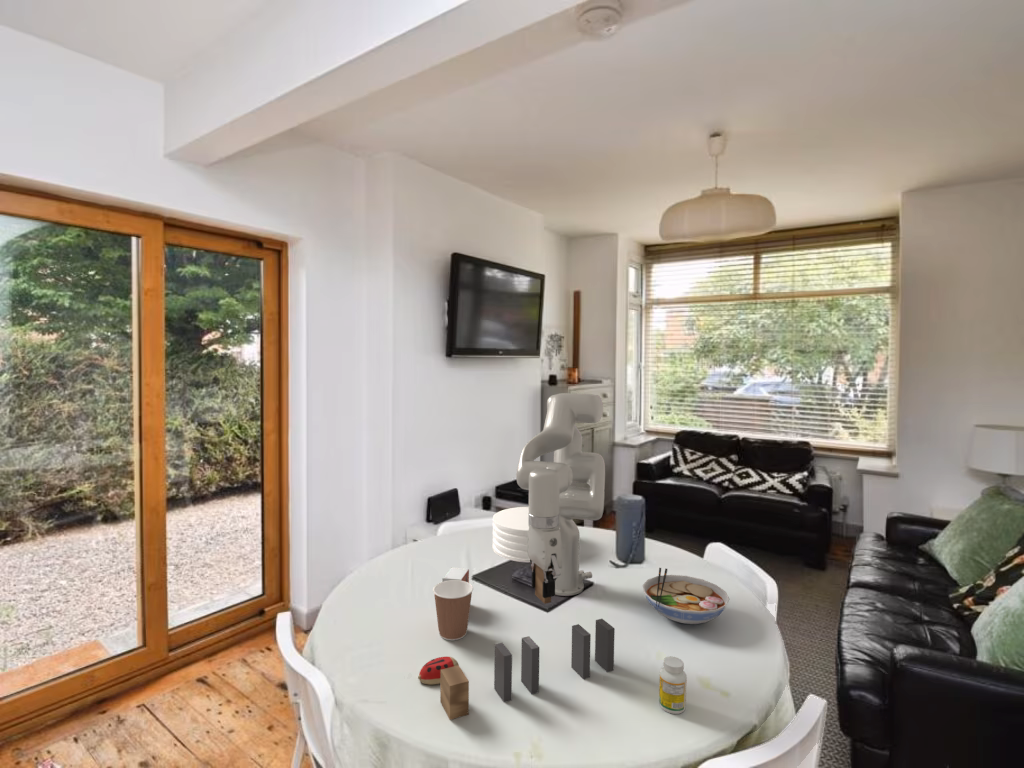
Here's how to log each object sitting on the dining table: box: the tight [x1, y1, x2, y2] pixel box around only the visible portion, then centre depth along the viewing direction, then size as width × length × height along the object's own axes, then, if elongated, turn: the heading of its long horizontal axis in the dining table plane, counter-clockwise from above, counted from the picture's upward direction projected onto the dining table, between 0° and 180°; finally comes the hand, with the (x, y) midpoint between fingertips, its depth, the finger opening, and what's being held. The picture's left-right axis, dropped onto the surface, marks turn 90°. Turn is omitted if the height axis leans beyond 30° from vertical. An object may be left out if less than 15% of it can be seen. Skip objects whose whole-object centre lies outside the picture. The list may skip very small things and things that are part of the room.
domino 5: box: [594, 618, 616, 673], centre depth 127 cm, size 2×5×10 cm, turn 25°
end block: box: [439, 665, 470, 721], centre depth 112 cm, size 4×6×7 cm, turn 25°
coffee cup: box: [432, 580, 474, 641], centre depth 141 cm, size 10×10×12 cm
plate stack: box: [492, 506, 531, 564], centre depth 202 cm, size 28×28×12 cm
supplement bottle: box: [658, 655, 688, 715], centre depth 113 cm, size 5×5×10 cm
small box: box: [441, 567, 470, 583], centre depth 154 cm, size 8×6×10 cm
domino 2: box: [520, 636, 540, 695], centre depth 119 cm, size 2×5×10 cm, turn 25°
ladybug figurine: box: [417, 656, 460, 686], centre depth 123 cm, size 7×10×4 cm
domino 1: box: [493, 642, 513, 703], centre depth 116 cm, size 2×5×10 cm, turn 25°
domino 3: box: [534, 564, 552, 605], centre depth 135 cm, size 2×5×10 cm, turn 25°
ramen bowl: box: [642, 567, 730, 625], centre depth 151 cm, size 25×23×8 cm
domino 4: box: [570, 623, 591, 680], centre depth 125 cm, size 2×5×10 cm, turn 25°
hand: (543, 590), depth 135 cm, fingers closed on domino 3, 4 cm apart
